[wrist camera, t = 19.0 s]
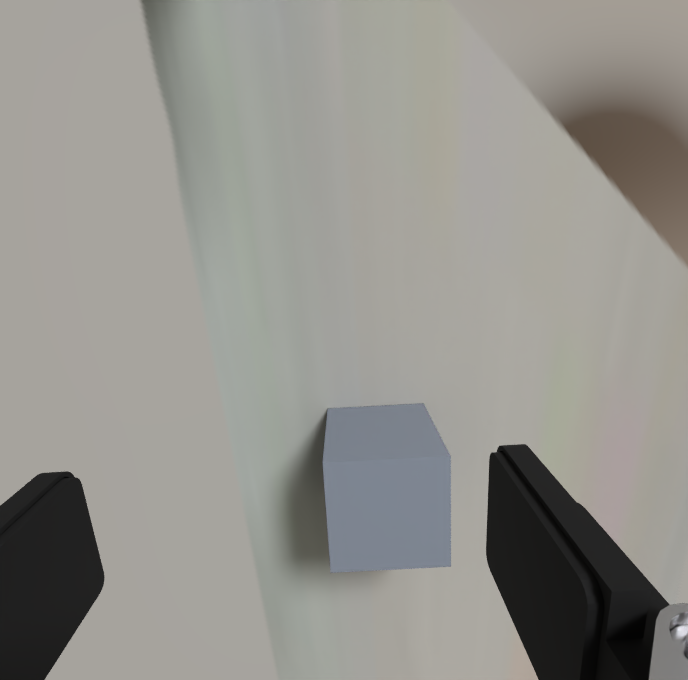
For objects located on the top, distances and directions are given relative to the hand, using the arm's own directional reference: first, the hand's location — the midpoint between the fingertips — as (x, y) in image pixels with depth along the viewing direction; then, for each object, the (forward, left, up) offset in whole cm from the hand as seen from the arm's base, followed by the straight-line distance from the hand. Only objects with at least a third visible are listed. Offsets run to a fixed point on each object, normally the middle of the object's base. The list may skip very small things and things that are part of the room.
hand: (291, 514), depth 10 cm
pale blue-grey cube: (+11, +3, -24) cm, 26 cm away
